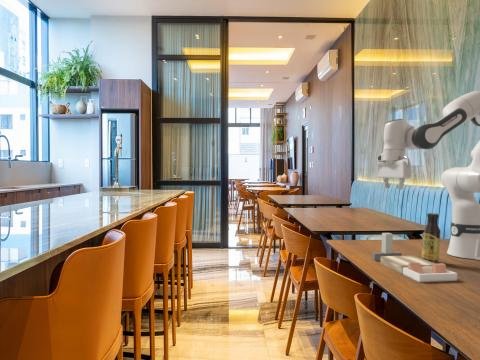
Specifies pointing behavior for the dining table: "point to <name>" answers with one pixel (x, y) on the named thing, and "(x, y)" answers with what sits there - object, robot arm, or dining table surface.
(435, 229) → the sauce bottle
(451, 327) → the dining table surface
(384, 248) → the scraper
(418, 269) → the tile
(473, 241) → the robot arm
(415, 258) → the birch board
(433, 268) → the tile
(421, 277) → the tray
